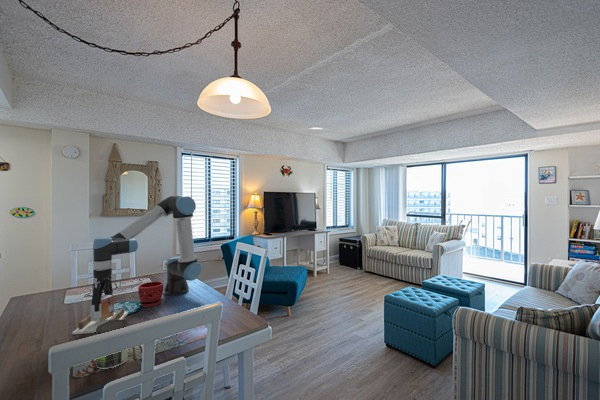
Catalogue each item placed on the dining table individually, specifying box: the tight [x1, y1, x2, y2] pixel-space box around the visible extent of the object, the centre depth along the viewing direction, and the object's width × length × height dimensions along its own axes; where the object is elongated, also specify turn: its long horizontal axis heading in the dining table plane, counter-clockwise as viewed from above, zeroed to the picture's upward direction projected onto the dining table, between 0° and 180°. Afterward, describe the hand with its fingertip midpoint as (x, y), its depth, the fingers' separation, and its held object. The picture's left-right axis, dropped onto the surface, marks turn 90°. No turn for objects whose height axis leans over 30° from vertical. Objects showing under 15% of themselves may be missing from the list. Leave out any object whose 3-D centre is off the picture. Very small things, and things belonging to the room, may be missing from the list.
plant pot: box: [137, 281, 164, 308], centre depth 163 cm, size 13×13×12 cm
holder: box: [72, 308, 129, 336], centre depth 138 cm, size 20×16×4 cm
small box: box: [90, 294, 115, 322], centre depth 138 cm, size 8×6×10 cm
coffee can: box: [95, 319, 129, 370], centre depth 106 cm, size 10×10×14 cm
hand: (102, 313), depth 138 cm, fingers closed on small box, 9 cm apart
